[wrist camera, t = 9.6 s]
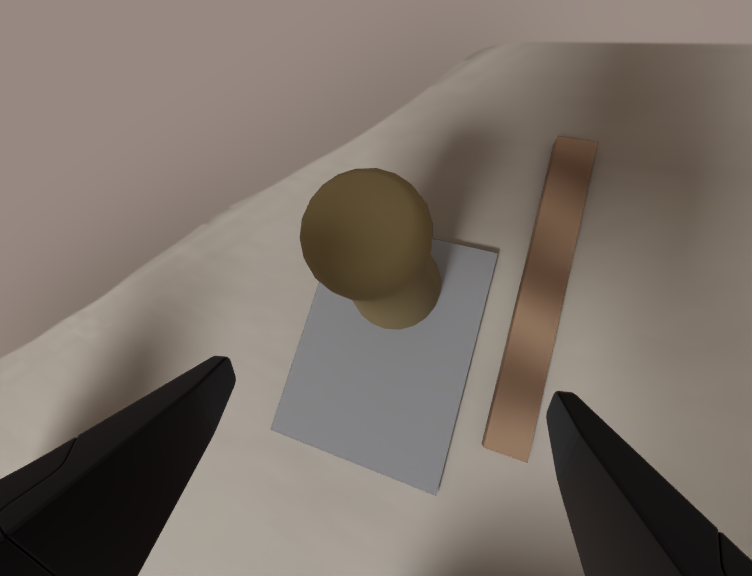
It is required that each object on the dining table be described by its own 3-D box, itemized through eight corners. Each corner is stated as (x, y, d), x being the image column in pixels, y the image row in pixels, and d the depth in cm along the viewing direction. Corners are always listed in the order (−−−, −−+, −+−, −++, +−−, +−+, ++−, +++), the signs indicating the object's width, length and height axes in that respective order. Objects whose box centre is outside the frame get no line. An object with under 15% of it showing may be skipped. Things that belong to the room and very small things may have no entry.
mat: (436, 493, 20) (436, 495, 19) (273, 428, 22) (270, 429, 22) (496, 255, 22) (497, 253, 21) (341, 220, 24) (340, 217, 24)
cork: (347, 247, 23) (273, 156, 13) (435, 234, 22) (433, 125, 12) (354, 334, 22) (276, 314, 11) (447, 324, 21) (457, 293, 10)
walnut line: (524, 458, 19) (527, 463, 18) (481, 443, 20) (483, 447, 19) (592, 149, 22) (598, 142, 21) (553, 143, 23) (558, 136, 22)
